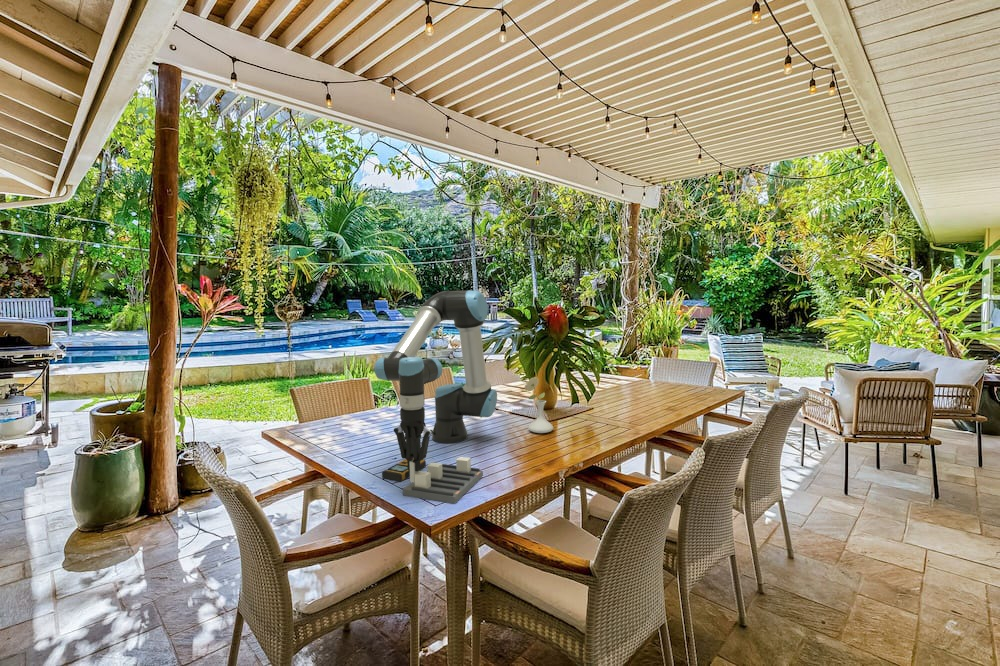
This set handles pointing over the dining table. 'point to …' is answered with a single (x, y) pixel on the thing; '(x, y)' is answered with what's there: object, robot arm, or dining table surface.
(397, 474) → the electronic device
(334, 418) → the dining table surface
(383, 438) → the dining table surface
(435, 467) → the tab
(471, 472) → the switch bank
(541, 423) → the flower in vase
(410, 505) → the dining table surface
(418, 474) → the tab
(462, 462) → the tab
